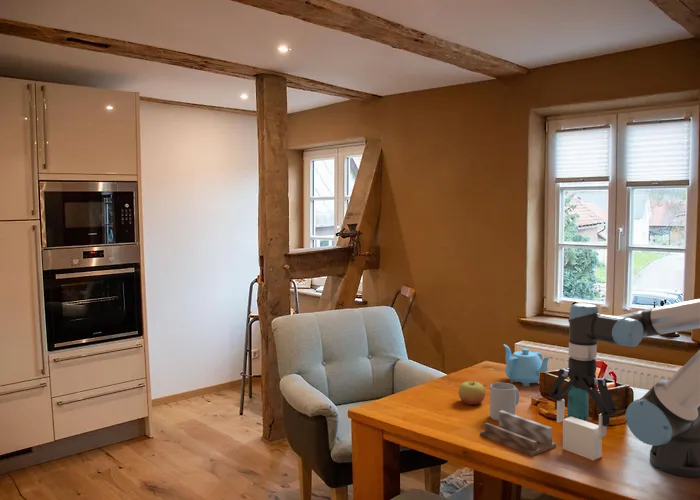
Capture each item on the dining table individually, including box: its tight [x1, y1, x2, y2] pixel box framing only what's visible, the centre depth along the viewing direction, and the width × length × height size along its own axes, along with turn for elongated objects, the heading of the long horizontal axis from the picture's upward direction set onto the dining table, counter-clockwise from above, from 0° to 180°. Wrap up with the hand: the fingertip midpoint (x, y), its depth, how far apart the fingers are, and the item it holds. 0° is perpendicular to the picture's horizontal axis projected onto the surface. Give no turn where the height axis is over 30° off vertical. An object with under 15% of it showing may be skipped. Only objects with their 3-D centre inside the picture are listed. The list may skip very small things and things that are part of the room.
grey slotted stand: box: [479, 410, 557, 457], centre depth 176 cm, size 20×11×6 cm, turn 34°
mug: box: [489, 382, 520, 422], centre depth 197 cm, size 12×8×11 cm
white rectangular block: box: [562, 416, 603, 461], centre depth 166 cm, size 10×4×9 cm, turn 34°
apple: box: [458, 380, 486, 406], centre depth 211 cm, size 10×10×8 cm
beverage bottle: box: [566, 387, 590, 422], centre depth 181 cm, size 6×7×20 cm
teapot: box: [503, 343, 552, 387], centre depth 235 cm, size 16×20×14 cm
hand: (580, 428), depth 166 cm, fingers open, 13 cm apart
